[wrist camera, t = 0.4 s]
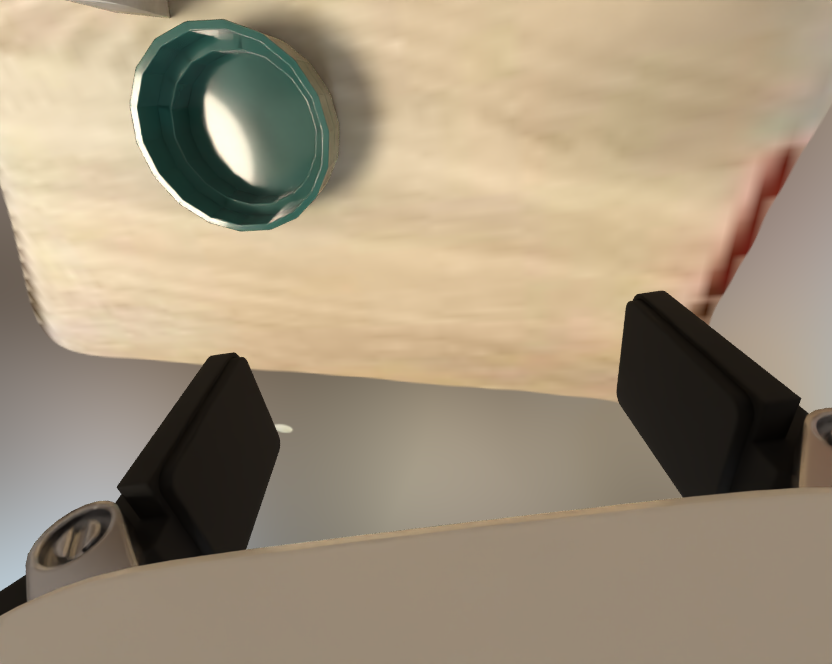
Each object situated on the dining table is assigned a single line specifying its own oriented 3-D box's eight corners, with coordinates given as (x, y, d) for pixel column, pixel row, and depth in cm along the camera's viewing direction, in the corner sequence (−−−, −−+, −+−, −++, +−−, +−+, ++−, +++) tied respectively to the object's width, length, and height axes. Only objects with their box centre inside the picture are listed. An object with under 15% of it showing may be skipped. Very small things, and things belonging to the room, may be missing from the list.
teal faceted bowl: (135, 79, 32) (84, 78, 27) (286, -5, 30) (262, -24, 25) (236, 233, 38) (210, 257, 33) (367, 173, 36) (362, 188, 31)
